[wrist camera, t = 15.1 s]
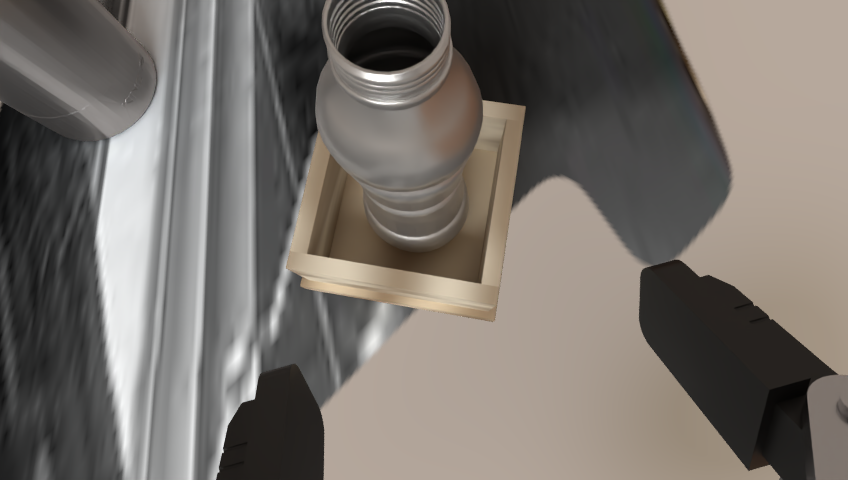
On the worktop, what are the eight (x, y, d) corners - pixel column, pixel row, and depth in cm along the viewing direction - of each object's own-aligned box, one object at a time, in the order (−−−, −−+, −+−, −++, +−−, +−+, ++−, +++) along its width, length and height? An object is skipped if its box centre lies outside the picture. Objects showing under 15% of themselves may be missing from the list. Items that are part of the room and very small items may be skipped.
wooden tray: (306, 288, 34) (275, 275, 28) (345, 118, 37) (325, 70, 30) (492, 321, 33) (504, 315, 27) (518, 144, 36) (535, 100, 29)
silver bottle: (436, 277, 32) (432, 170, 13) (350, 227, 33) (222, 56, 14) (484, 196, 33) (547, -17, 14) (399, 150, 34) (346, -112, 15)
